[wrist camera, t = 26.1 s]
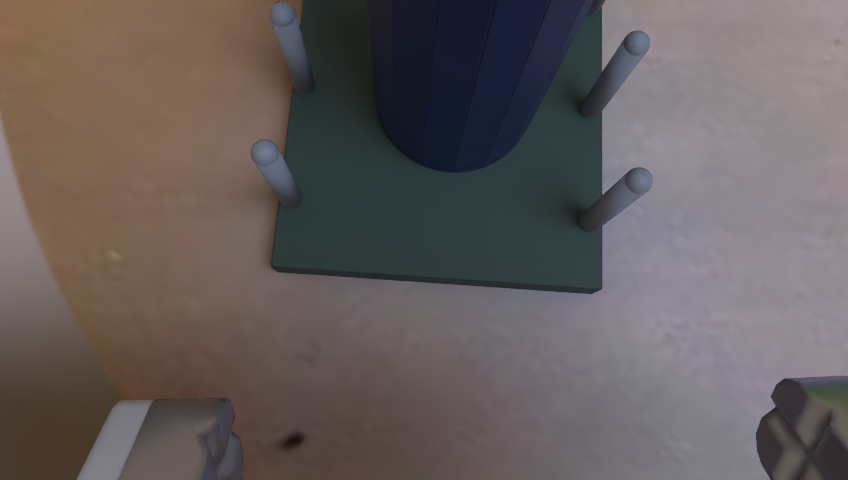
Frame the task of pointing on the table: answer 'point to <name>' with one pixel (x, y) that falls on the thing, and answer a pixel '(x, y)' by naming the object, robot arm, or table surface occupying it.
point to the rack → (437, 190)
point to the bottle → (465, 73)
